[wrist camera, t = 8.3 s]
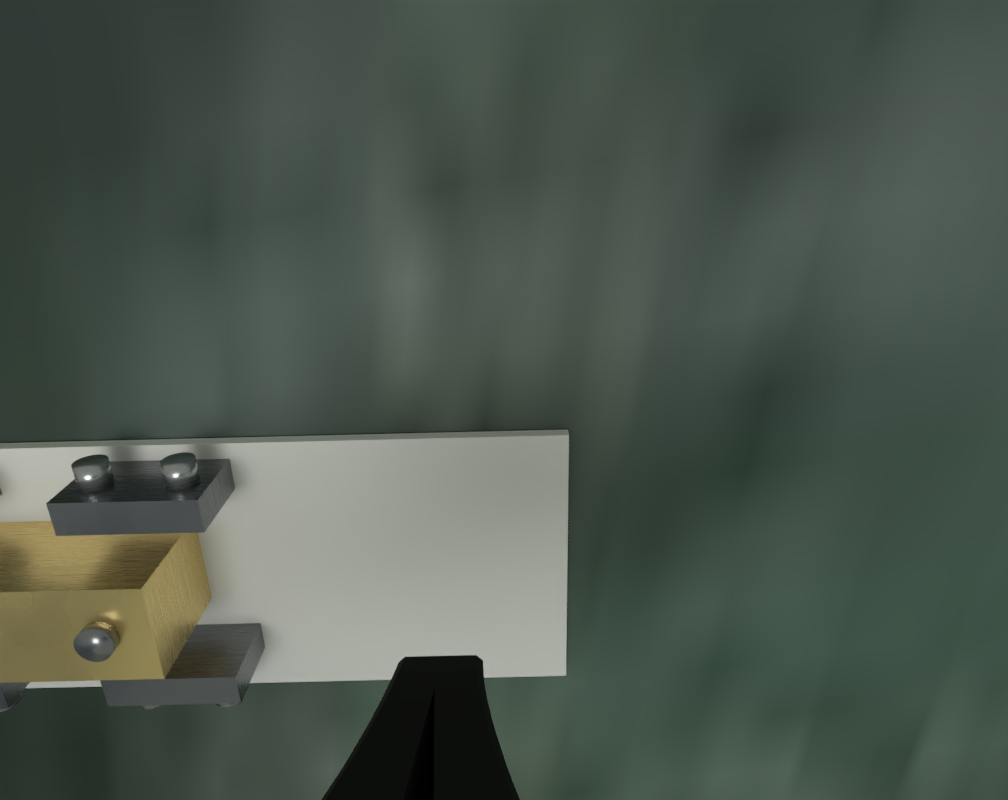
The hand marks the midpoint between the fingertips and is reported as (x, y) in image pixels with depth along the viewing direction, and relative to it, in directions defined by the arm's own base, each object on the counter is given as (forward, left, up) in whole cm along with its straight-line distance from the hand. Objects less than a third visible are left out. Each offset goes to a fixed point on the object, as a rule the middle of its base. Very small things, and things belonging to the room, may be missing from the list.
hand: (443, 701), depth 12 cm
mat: (-4, +9, -10) cm, 14 cm away
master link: (-4, +12, -10) cm, 16 cm away
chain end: (-4, +9, -10) cm, 14 cm away
